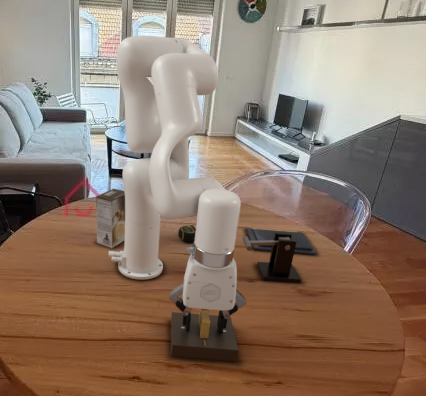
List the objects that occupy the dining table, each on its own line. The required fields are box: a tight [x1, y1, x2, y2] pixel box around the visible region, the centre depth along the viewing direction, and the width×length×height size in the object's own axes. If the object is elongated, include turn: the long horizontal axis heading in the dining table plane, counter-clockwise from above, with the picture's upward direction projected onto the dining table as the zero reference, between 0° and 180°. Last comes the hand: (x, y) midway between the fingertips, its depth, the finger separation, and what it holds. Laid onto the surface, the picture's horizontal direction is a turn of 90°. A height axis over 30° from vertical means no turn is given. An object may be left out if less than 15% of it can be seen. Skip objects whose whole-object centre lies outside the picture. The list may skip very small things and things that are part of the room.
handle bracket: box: [256, 232, 302, 284], centre depth 102 cm, size 10×8×12 cm
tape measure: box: [177, 225, 196, 243], centre depth 120 cm, size 7×7×4 cm
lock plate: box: [170, 311, 239, 363], centre depth 77 cm, size 13×10×3 cm
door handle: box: [242, 235, 290, 252], centre depth 101 cm, size 12×6×2 cm, turn 87°
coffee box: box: [95, 188, 125, 249], centre depth 115 cm, size 9×6×16 cm
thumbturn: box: [198, 309, 210, 338], centre depth 76 cm, size 5×2×4 cm, turn 176°
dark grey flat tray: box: [245, 227, 317, 256], centre depth 122 cm, size 20×2×15 cm
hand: (203, 327), depth 77 cm, fingers open, 6 cm apart
